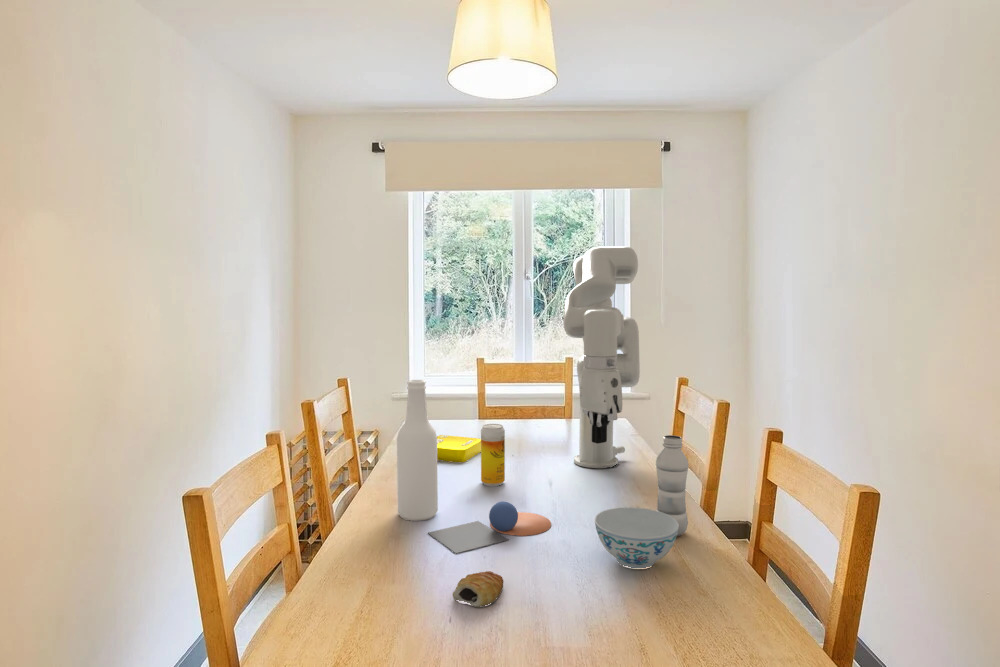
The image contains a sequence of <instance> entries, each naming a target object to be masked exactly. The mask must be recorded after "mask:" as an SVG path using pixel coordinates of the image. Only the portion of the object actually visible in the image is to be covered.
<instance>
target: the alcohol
mask: <svg viewBox="0 0 1000 667" xmlns="http://www.w3.org/2000/svg"><path fill="white" fill-rule="evenodd" d="M426 383H427V382H426V381H425V380H424V379H410V380H408V381H407V400H406V401H407V402H406V415H405V420H404V423H403V424H402V426H401V427H400V429H399V430H398V433H397V435H396V436H397V437H396V460H397V462H396V463H397V464H396V467H397V468H396V469H397V471H396V472H397V474H396V475H397V476H396V477H397V479H396V480H397V481H396V482H397V485H396V486H397V513H398V515H399V516H400V518H401V519H402V518H403V519H402V520H406V521H409V520H410V521H409V522H422V520H423V521H428V520H431V519H433V518H434V517H435V516H436V515H437V512H438V510H439V509H438V508H439V504H438V499H439V497H438V494H439V492H438V484H439V483H438V460H437V436H438V435H437V432H436V429H435V427H434V426H433V425H432V424H431V422H430V421H429V417H428V409H427V408H428V406H427V396H426V388H427V387H426Z"/></svg>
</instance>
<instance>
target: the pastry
mask: <svg viewBox="0 0 1000 667" xmlns="http://www.w3.org/2000/svg"><path fill="white" fill-rule="evenodd" d="M502 588H503V589H504V579H503V576H502V575H500V574H498V573H495V572H493V571H489V570H487V571H480V572H475V573H470V574H467V575H466V576H465V577H462V578H461V579H460V580H459V581H458V582H457V586H456V587H455V590H453V592H452V598H453V599H454V600H455V599H456V600H459V601H464V602H467V603H470V604H471V605H473V606H475V607H474V608H480V606H485V605H488V604H490V603H492V602H493V603H494V602H496V601H497V600H496V598H497V597H498V596H499V597H500V595H501V593H502V591H503V589H502ZM501 590H502V591H501ZM500 592H501V593H500ZM499 594H500V595H499ZM499 597H498V598H499ZM498 598H497V599H498ZM456 600H455V601H456ZM495 600H496V601H495ZM493 603H492V604H493ZM473 606H472V607H473Z"/></svg>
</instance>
